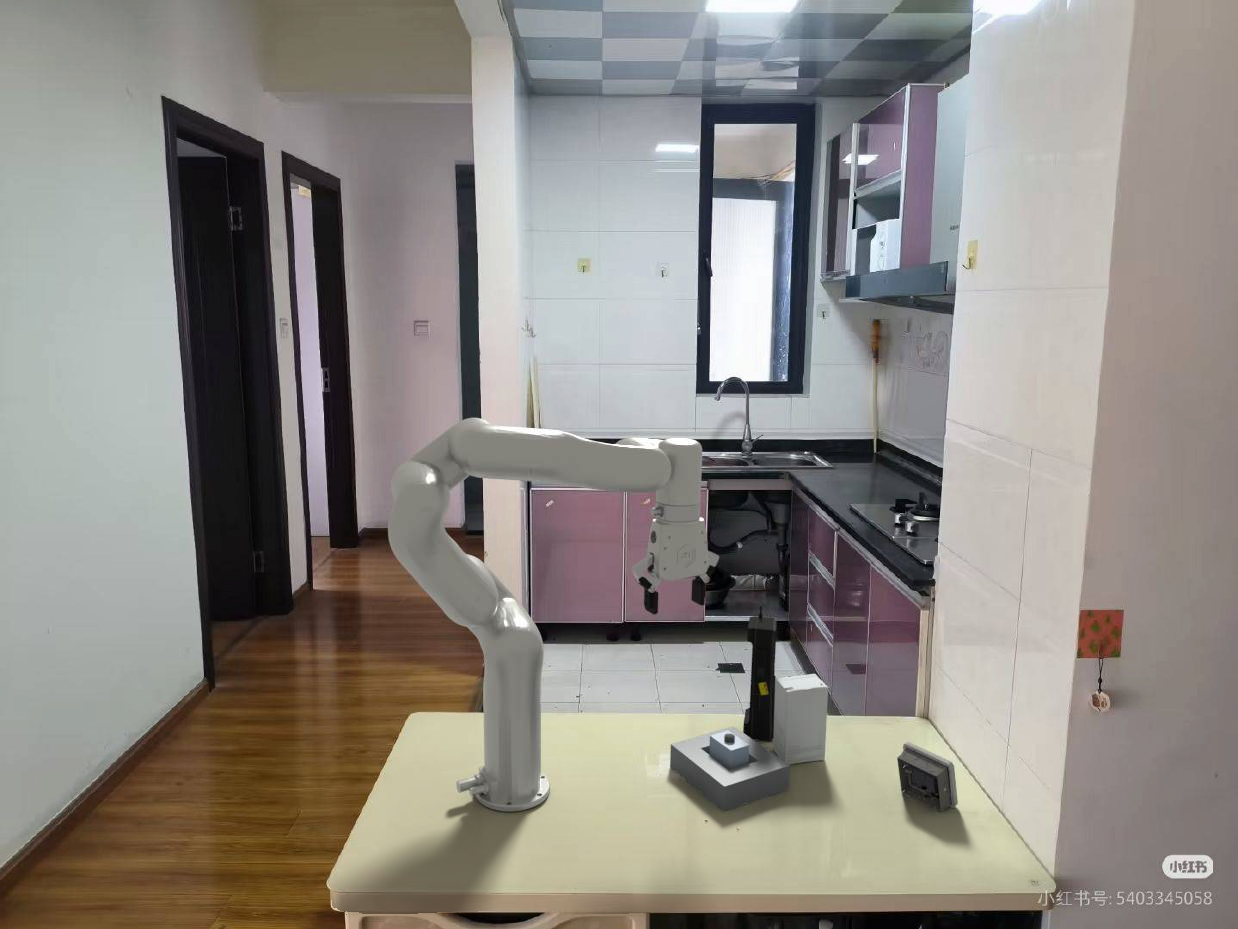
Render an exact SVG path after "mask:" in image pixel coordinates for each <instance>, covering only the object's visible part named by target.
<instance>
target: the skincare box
mask: <svg viewBox="0 0 1238 929" xmlns="http://www.w3.org/2000/svg"><path fill="white" fill-rule="evenodd" d="M828 697H829V686H828V685H827V684H825V682H824V681H823V680H821V678H820V677H819V676H818V675H817V674H816V673H810V674H803V675H796V676H795V675H794V676H785V677H784V676H783V677H778V678H775V708H774V739H772V741H773V743H772V744H773V746H772V747H773V748H772V749H773V751H774V752H775V753H776V754H775V755H776V756H778V757H779V758H780V759H782V760H783V761H785V762H786V763H788V764H789V765H793V764H794V765H795V764H801V763H808V762H816V761H823V760H825V759H826V757H825V756H826V739H827V738H826V737H827V720H828V719H827V717H828V700H829V698H828Z"/></svg>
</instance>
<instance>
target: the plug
mask: <svg viewBox="0 0 1238 929" xmlns="http://www.w3.org/2000/svg"><path fill="white" fill-rule="evenodd" d="M709 755H710V756H711V757H713V758H714V759H715V760H717V761H718V762H719V763H721V764H722V765H723V766H724V767H726V768H727V769H728V770H731V769H734V768H737V767H740V766H744V765H747V764H749V744H747V743H746V742H744V741H743V740H742V739H740V738H739V737H737V736H736V735H734V734H733V733H731V732H730V731H728V730H727V731H724V732H721V733H717V734H714V735H711V736H710V747H709Z"/></svg>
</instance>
